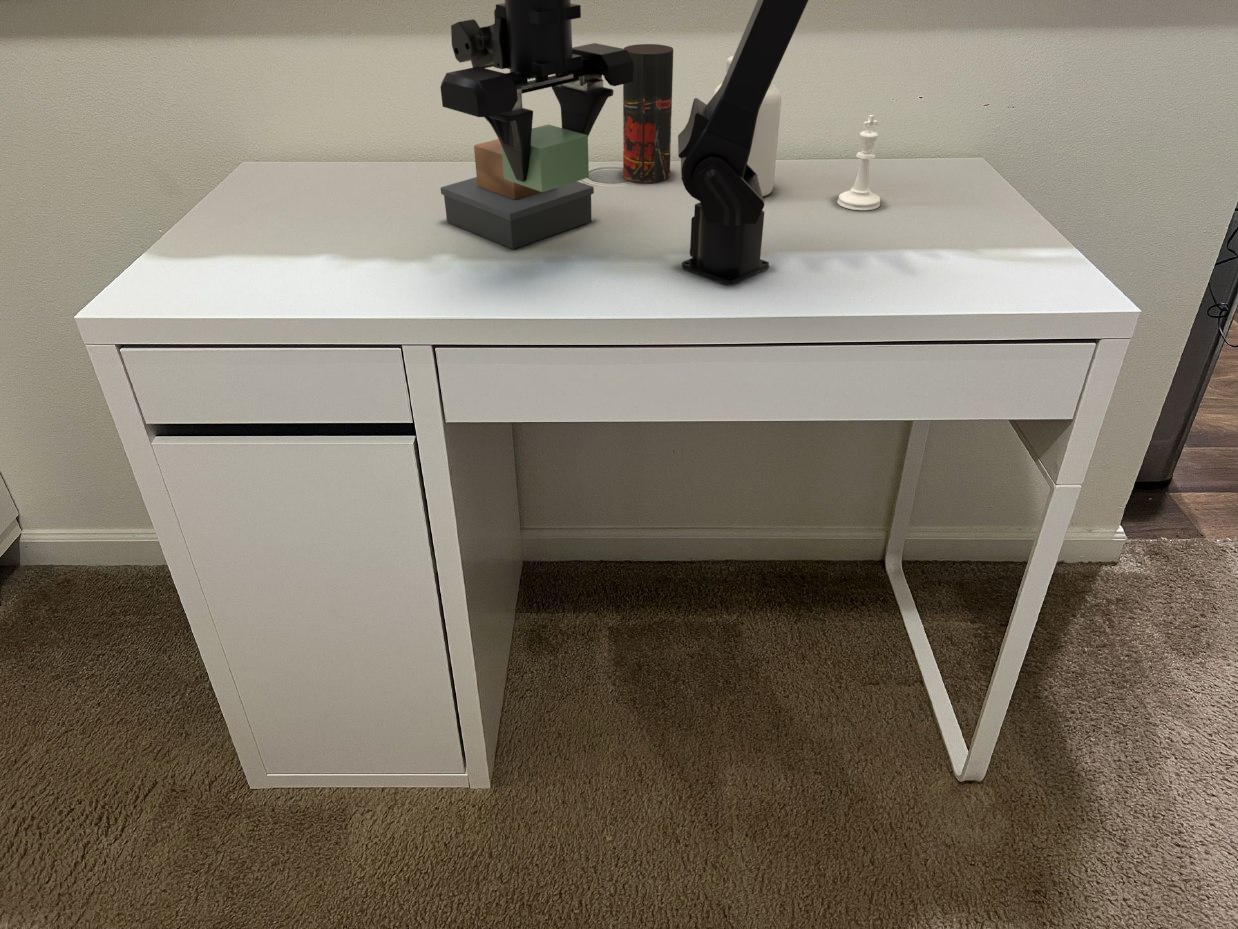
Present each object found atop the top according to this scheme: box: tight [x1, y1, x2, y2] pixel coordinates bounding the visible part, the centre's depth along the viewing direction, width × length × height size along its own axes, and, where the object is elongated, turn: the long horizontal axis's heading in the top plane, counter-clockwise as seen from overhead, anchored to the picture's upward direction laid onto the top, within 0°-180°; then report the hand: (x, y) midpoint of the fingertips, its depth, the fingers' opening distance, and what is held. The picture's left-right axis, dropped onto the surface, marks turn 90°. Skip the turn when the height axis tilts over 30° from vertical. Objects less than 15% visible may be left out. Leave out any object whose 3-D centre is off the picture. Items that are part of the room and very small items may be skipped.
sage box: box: [501, 124, 590, 192], centre depth 87 cm, size 6×6×4 cm
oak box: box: [473, 138, 540, 200], centre depth 100 cm, size 6×6×4 cm
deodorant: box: [622, 43, 674, 184], centre depth 113 cm, size 6×6×15 cm
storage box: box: [440, 176, 595, 250], centre depth 103 cm, size 12×12×4 cm
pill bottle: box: [712, 55, 782, 197], centre depth 108 cm, size 8×8×15 cm
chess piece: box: [837, 114, 881, 211], centre depth 106 cm, size 5×5×10 cm
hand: (546, 173), depth 88 cm, fingers closed on sage box, 6 cm apart
